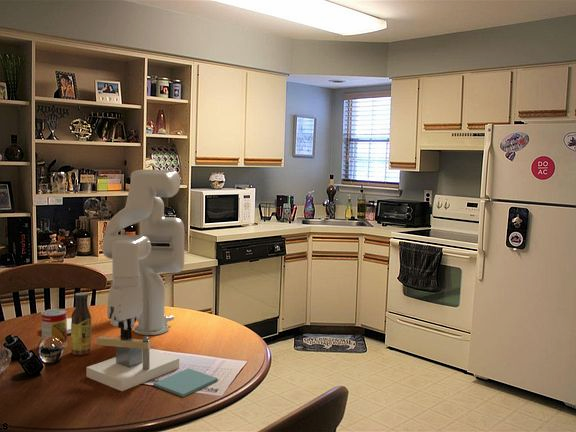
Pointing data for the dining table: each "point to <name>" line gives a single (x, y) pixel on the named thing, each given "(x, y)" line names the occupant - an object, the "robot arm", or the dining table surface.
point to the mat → (185, 382)
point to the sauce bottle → (81, 326)
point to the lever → (124, 342)
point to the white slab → (132, 370)
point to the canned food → (55, 324)
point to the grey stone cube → (128, 356)
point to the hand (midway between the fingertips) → (126, 340)
